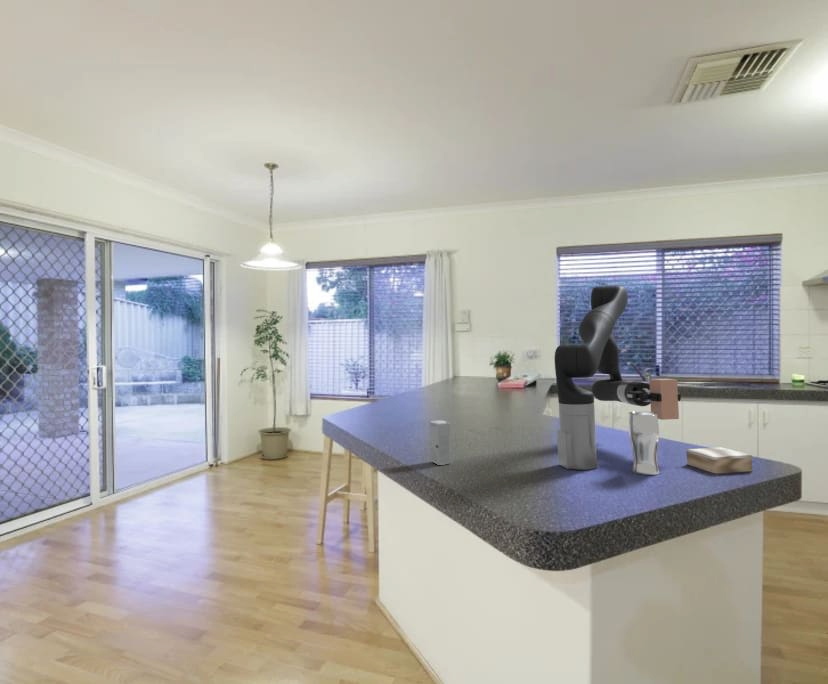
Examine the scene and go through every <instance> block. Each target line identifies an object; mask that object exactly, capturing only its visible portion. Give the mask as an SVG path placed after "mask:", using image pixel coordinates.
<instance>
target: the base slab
mask: <svg viewBox="0 0 828 684" xmlns="http://www.w3.org/2000/svg"><path fill="white" fill-rule="evenodd" d="M686 460H687V463H686V464H687V465H689V466H691V467H694V468H697V469H700V470H704V471H706V472H709V473H712V474H727V473H728V474H729V473H743V472H744V473H745V472H753V463H752V461H753V459H752V454H749V453H745V452H741V451H737V450H734V449H733V450H732V449H729V448H725V447H721V446H720V447H705V448H704V447H702V448H688V449H686Z"/></svg>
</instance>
